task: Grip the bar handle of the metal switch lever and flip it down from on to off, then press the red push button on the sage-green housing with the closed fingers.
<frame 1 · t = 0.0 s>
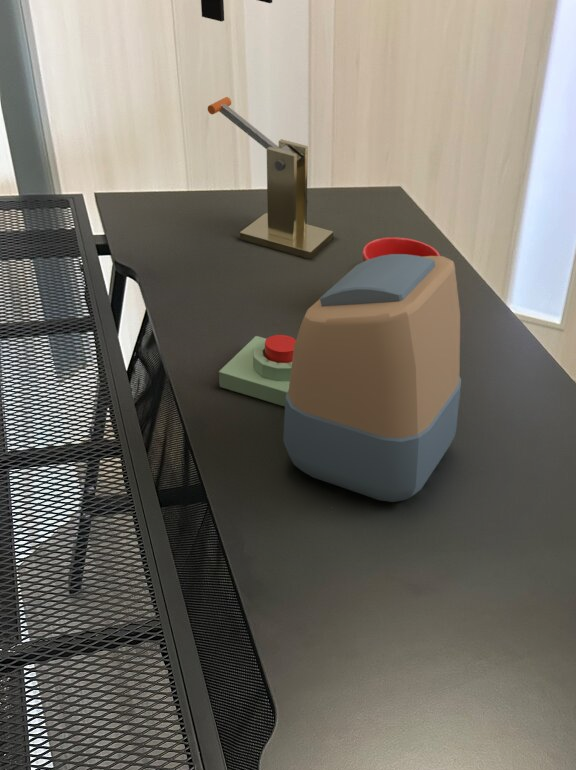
hand: (238, 9, 112), 31 cm above the table, tool pointing down, fingers open, 13 cm apart
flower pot: (395, 320, 123), on the table
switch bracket: (287, 239, 136), on the table
button: (281, 349, 105), point 4 cm above the table, slide at 0.1 cm
lidded trash bin: (370, 461, 99), on the table
button box: (281, 381, 108), on the table
switch lever: (256, 134, 127), point 14 cm above the table, hinge at 25.0°
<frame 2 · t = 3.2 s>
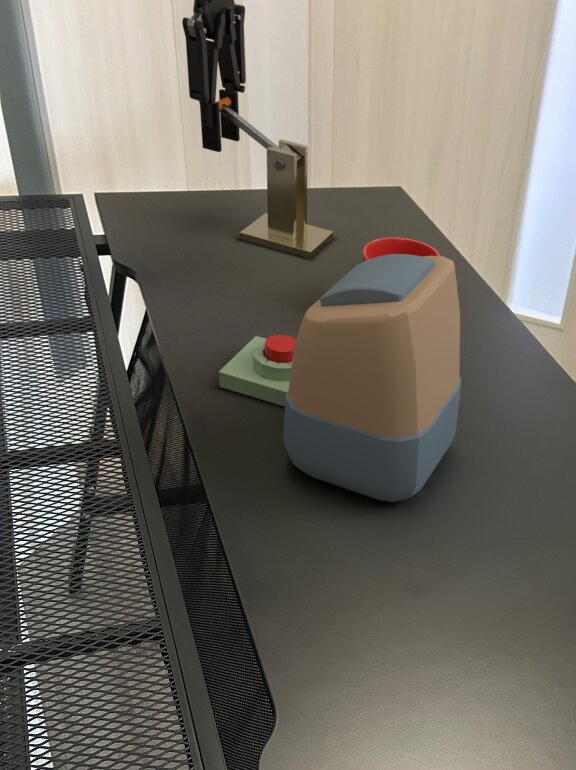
hand: (221, 143, 129), 12 cm above the table, tool pointing down, fingers closed on switch lever, 5 cm apart
switch lever: (256, 134, 127), point 14 cm above the table, hinge at 25.0°, touching gripper
everything else where it was.
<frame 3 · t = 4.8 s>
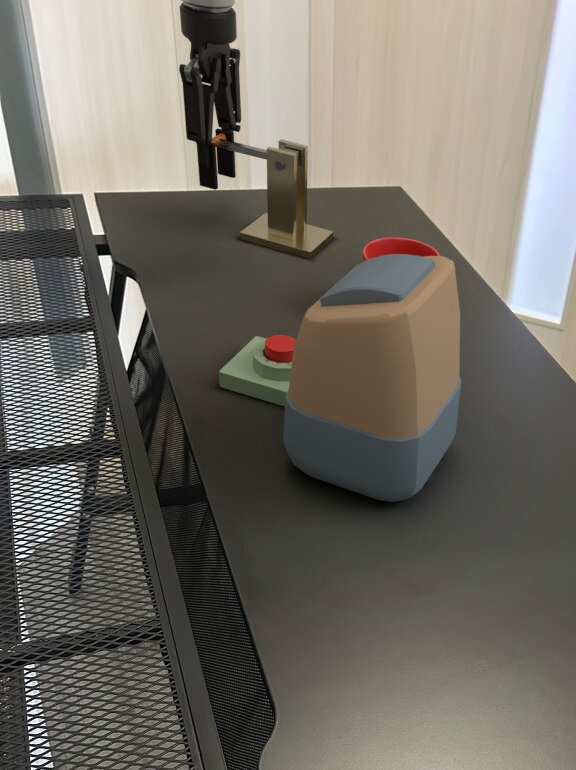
hand: (218, 180, 133), 6 cm above the table, tool pointing down, fingers closed on switch lever, 5 cm apart
switch lever: (253, 151, 129), point 12 cm above the table, hinge at -0.9°, touching gripper
everything else where it was.
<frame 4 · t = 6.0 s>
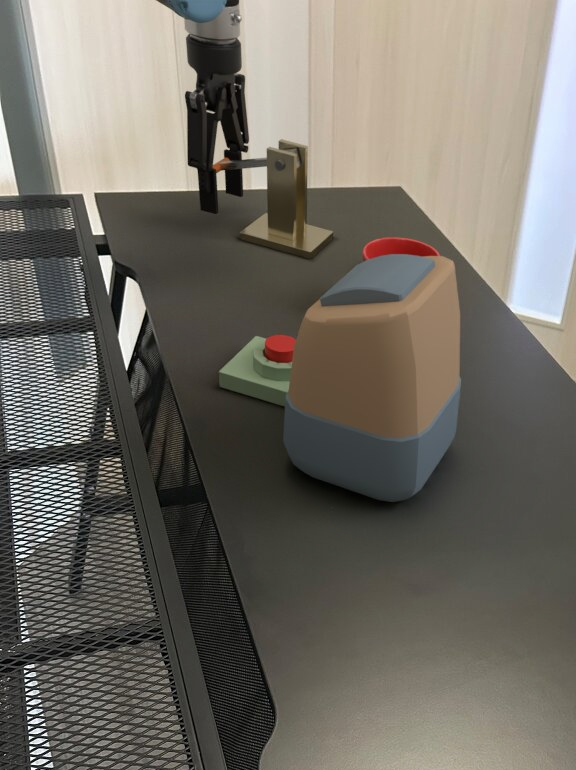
hand: (222, 202, 136), 3 cm above the table, tool pointing down, fingers open, 7 cm apart
switch lever: (255, 163, 130), point 10 cm above the table, hinge at -17.4°
everything else where it was.
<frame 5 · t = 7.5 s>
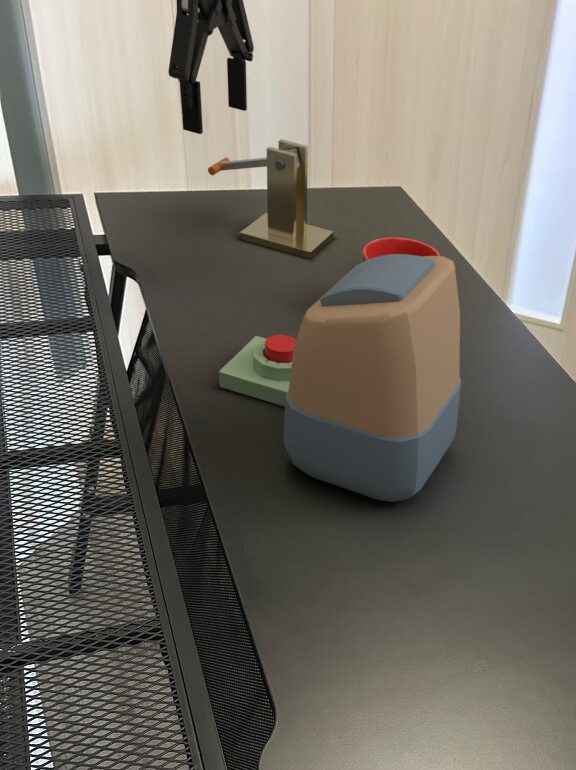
hand: (216, 119, 127), 15 cm above the table, tool pointing down, fingers open, 13 cm apart
nothing on the table moved.
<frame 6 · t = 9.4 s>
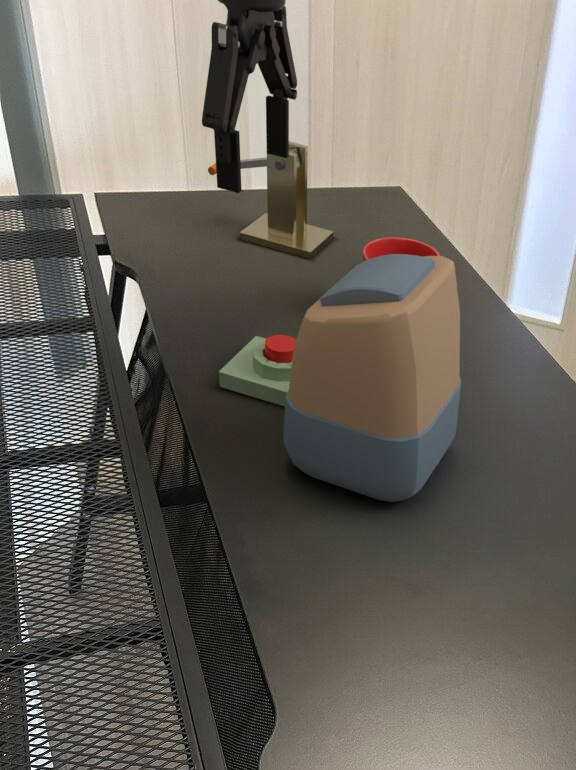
hand: (254, 171, 105), 19 cm above the table, tool pointing down, fingers open, 13 cm apart
nothing on the table moved.
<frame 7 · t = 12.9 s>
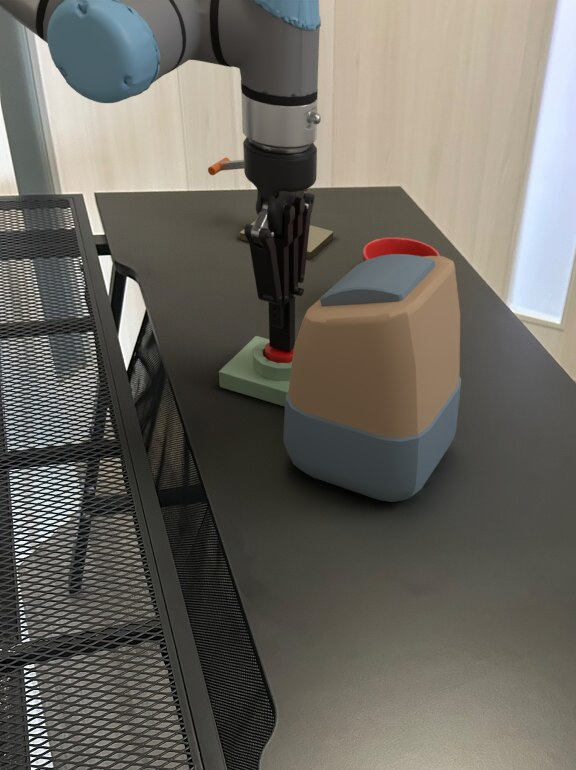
hand: (282, 346, 105), 5 cm above the table, tool pointing down, fingers closed
button: (281, 354, 105), point 4 cm above the table, slide at -0.6 cm, touching gripper
everything else where it was.
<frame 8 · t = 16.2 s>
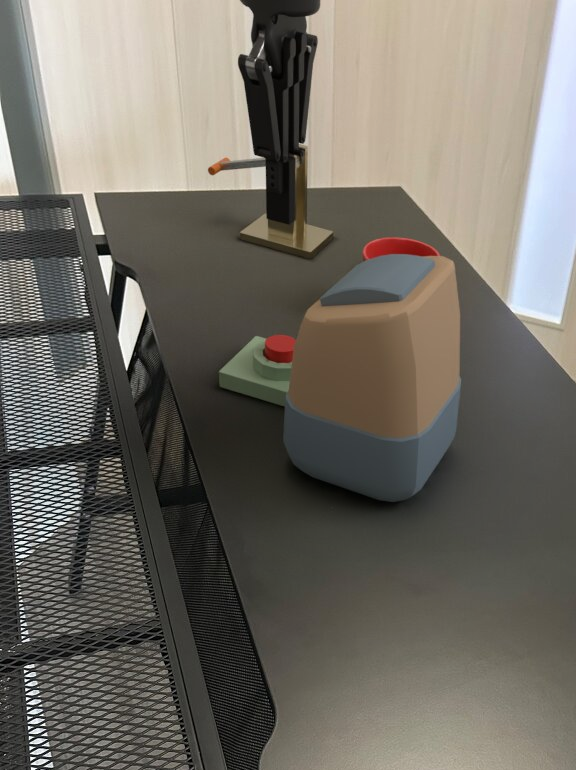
hand: (280, 219, 94), 20 cm above the table, tool pointing down, fingers closed
button: (281, 349, 105), point 4 cm above the table, slide at 0.1 cm
everything else where it was.
at the end: switch lever at -17° (first picture: +25°); button pushed in 1.0 cm at the most during the clip, back to where it started at the end; button slide at 0.1 cm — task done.
